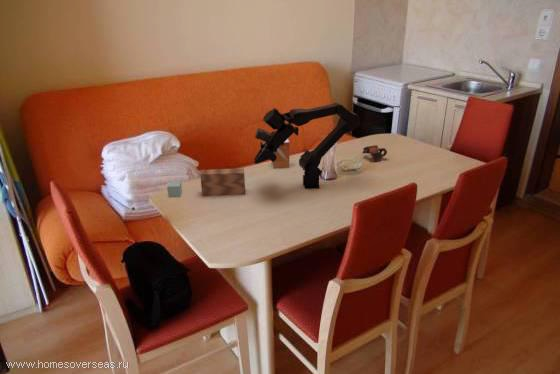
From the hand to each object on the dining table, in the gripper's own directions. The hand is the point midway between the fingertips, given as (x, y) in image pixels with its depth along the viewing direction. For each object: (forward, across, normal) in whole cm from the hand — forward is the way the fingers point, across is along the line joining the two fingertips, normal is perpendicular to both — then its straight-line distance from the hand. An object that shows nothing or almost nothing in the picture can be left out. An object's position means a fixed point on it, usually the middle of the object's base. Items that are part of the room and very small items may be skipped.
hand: (254, 161), depth 180 cm
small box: (+1, -28, +19) cm, 34 cm away
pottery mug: (-33, -33, +52) cm, 70 cm away
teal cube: (+34, 0, -14) cm, 37 cm away
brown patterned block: (+19, 0, 0) cm, 19 cm away
